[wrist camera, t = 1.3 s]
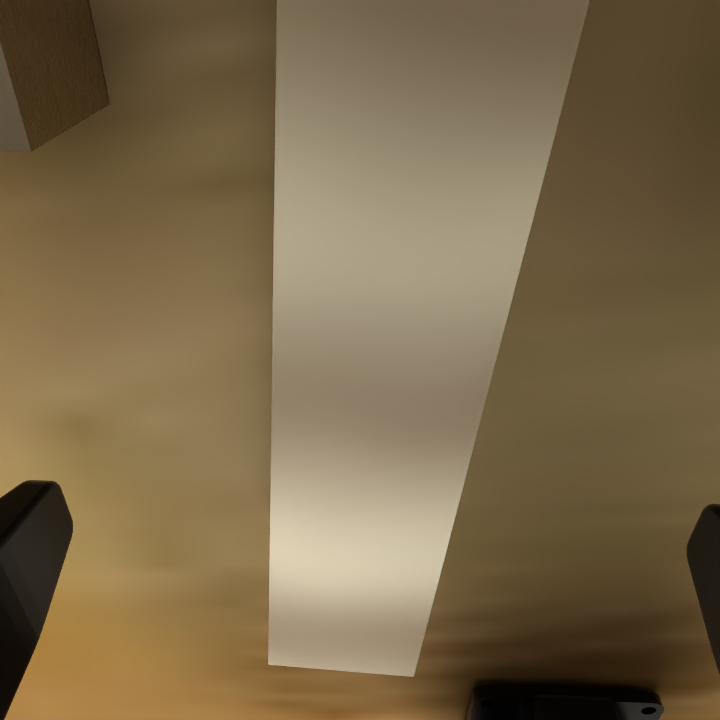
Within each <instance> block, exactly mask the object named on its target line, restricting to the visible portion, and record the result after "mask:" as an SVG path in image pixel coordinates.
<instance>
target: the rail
mask: <svg viewBox="0 0 720 720" xmlns="http://www.w3.org/2000/svg"><path fill="white" fill-rule="evenodd" d="M589 3H590V0H277V23H276V102H275V181H274V260H273V339H272V418H271V496H270V575H269V654H268V665H280V666H292V667H303V668H315V669H327V670H339V671H351V672H362V673H374V674H386V675H398V676H410V677H414V674H415V670H416V666H417V662H418V658H419V654H420V651H421V647H422V643H423V639H424V635H425V631H426V628H427V624H428V620H429V616H430V612H431V608H432V605H433V601H434V597H435V593H436V589H437V585H438V582H439V578H440V574H441V570H442V566H443V562H444V559H445V555H446V551H447V547H448V543H449V539H450V536H451V532H452V528H453V524H454V520H455V516H456V513H457V509H458V505H459V501H460V497H461V493H462V490H463V486H464V482H465V478H466V474H467V470H468V467H469V463H470V459H471V455H472V451H473V447H474V444H475V440H476V436H477V432H478V428H479V424H480V421H481V417H482V413H483V409H484V405H485V401H486V398H487V394H488V390H489V386H490V382H491V378H492V375H493V371H494V367H495V363H496V359H497V355H498V352H499V348H500V344H501V340H502V336H503V332H504V329H505V325H506V321H507V317H508V313H509V309H510V306H511V302H512V298H513V294H514V290H515V286H516V283H517V279H518V275H519V271H520V267H521V263H522V260H523V256H524V252H525V248H526V244H527V240H528V237H529V233H530V229H531V225H532V221H533V217H534V214H535V210H536V206H537V202H538V198H539V194H540V191H541V187H542V183H543V179H544V175H545V171H546V168H547V164H548V160H549V156H550V152H551V148H552V145H553V141H554V137H555V133H556V129H557V125H558V122H559V118H560V114H561V110H562V106H563V102H564V99H565V95H566V91H567V87H568V83H569V79H570V76H571V72H572V68H573V64H574V60H575V56H576V53H577V49H578V45H579V41H580V37H581V33H582V30H583V26H584V22H585V18H586V14H587V10H588V7H589Z"/></svg>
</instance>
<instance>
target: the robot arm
mask: <svg viewBox="0 0 720 720" xmlns="http://www.w3.org/2000/svg"><path fill="white" fill-rule="evenodd" d="M72 533H73V521H72V517H71V515H70V512H69V509H68V506H67V504H66V501H65V498H64V495H63V493H62V490H61V488H60V486H59V485H58V484H57V483H56V482H54V481H41V480H29V481H25V482H23V483H21V484H20V485H18V486H17V487H15V488H14V489H12V490H11V491H9V492H8V493H7V494H5V495H4V496H2V497H1V498H0V720H4V719H5V717H6V714H7V712H8V710H9V707H10V705H11V703H12V701H13V698H14V696H15V694H16V691H17V689H18V687H19V685H20V682H21V680H22V678H23V675H24V673H25V671H26V669H27V666H28V664H29V662H30V659H31V657H32V655H33V652H34V650H35V647H36V645H37V642H38V640H39V637H40V634H41V631H42V629H43V626H44V623H45V620H46V617H47V613H48V610H49V607H50V604H51V601H52V598H53V594H54V591H55V588H56V585H57V582H58V579H59V576H60V572H61V569H62V566H63V563H64V560H65V557H66V553H67V550H68V547H69V544H70V541H71V537H72ZM687 559H688V564H689V567H690V571H691V575H692V578H693V582H694V586H695V589H696V593H697V597H698V600H699V604H700V608H701V611H702V615H703V619H704V622H705V626H706V630H707V633H708V637H709V641H710V644H711V648H712V652H713V655H714V658H715V661H716V665H717V668H718V671H719V673H720V504H710V505H708V506H706V507H705V508H704V509H703V511H702V513H701V515H700V517H699V519H698V521H697V524H696V526H695V528H694V530H693V532H692V534H691V536H690V539H689V541H688V544H687ZM663 711H664V708H663V705H662V702H661V699H660V697H659V695H658V694H657V693H654V692H649V691H625V690H601V689H576V688H552V687H528V686H503V685H482V686H478V687H476V688H475V689H473V691H472V694H471V699H470V703H469V708H468V713H467V717H466V720H659V718H660V716H661V715H662V713H663Z"/></svg>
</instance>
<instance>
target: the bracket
mask: <svg viewBox="0 0 720 720" xmlns="http://www.w3.org/2000/svg"><path fill="white" fill-rule="evenodd" d="M107 105H109V101H108V96H107V91H106V87H105V82H104V77H103V72H102V67H101V62H100V57H99V52H98V47H97V42H96V37H95V32H94V27H93V22H92V17H91V13H90V8H89V3H88V0H0V151H22V152H32V151H33V150H35V149H36V148H38V147H40V146H41V145H43V144H45V143H46V142H48V141H50V140H51V139H53V138H55V137H56V136H58V135H59V134H61V133H63V132H64V131H66V130H68V129H69V128H71V127H73V126H74V125H76V124H78V123H79V122H81V121H83V120H84V119H86V118H87V117H89V116H91V115H92V114H94V113H96V112H97V111H99V110H101V109H102V108H104V107H106V106H107Z"/></svg>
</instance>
